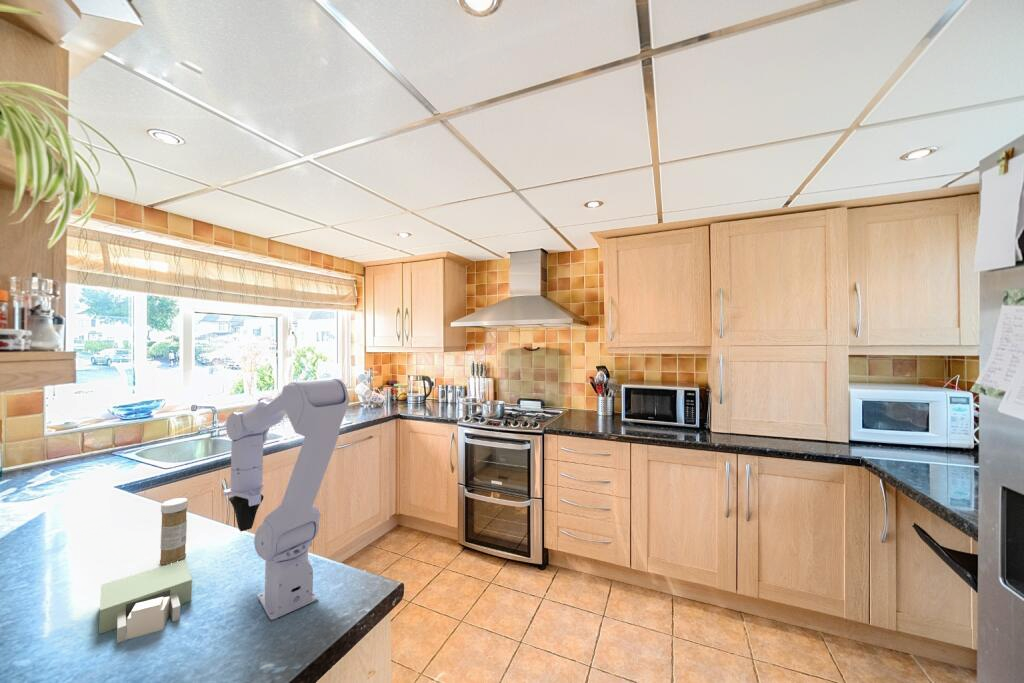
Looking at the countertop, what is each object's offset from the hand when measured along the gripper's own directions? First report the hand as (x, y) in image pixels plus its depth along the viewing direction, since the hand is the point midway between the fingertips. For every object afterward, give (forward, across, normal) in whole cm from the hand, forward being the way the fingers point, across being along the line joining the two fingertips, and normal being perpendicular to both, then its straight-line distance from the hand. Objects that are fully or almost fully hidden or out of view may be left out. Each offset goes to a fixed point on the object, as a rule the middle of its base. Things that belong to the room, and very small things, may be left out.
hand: (245, 529), depth 82 cm
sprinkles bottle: (+10, -18, -10) cm, 22 cm away
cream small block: (+10, +7, -15) cm, 19 cm away
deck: (+9, +1, -15) cm, 18 cm away
